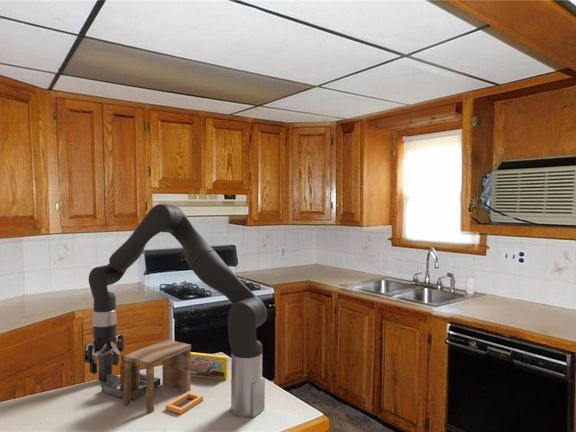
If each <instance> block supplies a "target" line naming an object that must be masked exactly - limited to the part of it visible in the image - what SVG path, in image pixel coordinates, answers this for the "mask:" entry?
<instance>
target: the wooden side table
mask: <svg viewBox="0 0 576 432" xmlns="http://www.w3.org/2000/svg"><path fill="white" fill-rule="evenodd" d="M191 349H192V344H190V343H185V342H180V341H176V340H171V339H164V340H162V341H161V340H160V341H158V342H156V343H153V344H151V345H149V346H146V347H143V348H141V349H138V350H136V351H132V353H130V352H129V353H130V354H127V355H124V356H123V360H124V398H123V406H127V407H128V406H131V405H132V399H131V362H134V363H137V364H140V366H145V367H146V368H145V369H146V370H145V375H146V382H145V384H146V392H145V399H146V401H145V402H146V403H145V404H146V405H145V410H146V411H145V412H146V414H152V413H154V411H155V408H154V406H155V398H154V397H155V388H154V377H155V365H156V364H159V363H161V362H162V386H164V387H168V388H171V389H174V390H179V391H182V392H185V393H188V392H190V391H191V376H190V360H191V352H192V351H191Z"/></svg>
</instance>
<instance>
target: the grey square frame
mask: <svg viewBox="0 0 576 432" xmlns="http://www.w3.org/2000/svg"><path fill="white" fill-rule="evenodd" d="M112 354H113V353H112V352H105V353H103V354H102V355H101V356H100V357H99V358H98V381H99V382H102V383H103V384H101V392H103V393H106V394H109V395H112V396H114V397H117V398H121V399H124V390H122V389H120V387H119V388H118V387H117V386H120V375H115V374H114V373H113V365H112ZM140 381H141V382H145V384H143V385H140V387H139V388H137V389H135V390H133V391H131V400H134V399H135V398H137V397H138V396H141V395H143V394H146V373H145V374H144V373H141V372H140ZM160 385H161V378H159V377H156V376H154V389H155V388H156V387H159V386H160Z"/></svg>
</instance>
